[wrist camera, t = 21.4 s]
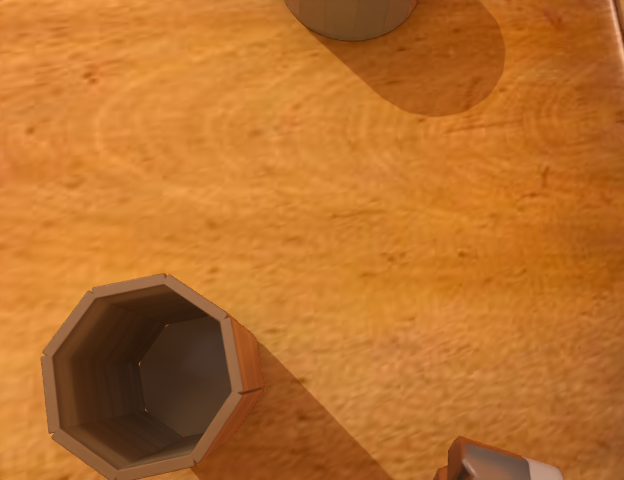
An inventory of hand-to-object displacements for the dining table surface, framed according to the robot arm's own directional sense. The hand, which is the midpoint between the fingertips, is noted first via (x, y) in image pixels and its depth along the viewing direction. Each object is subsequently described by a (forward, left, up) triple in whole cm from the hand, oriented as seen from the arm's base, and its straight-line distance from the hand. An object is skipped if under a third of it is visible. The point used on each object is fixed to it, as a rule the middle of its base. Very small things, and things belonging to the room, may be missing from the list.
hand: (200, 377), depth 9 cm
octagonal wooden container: (+3, +2, -21) cm, 22 cm away
